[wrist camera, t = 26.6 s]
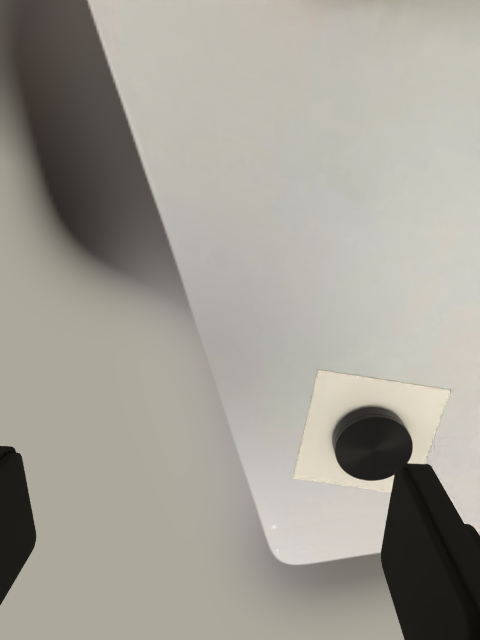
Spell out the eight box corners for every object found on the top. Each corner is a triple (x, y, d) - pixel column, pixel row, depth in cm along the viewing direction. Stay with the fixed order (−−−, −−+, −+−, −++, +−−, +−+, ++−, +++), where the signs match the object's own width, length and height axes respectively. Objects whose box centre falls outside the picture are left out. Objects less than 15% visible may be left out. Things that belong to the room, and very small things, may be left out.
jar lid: (421, 444, 40) (428, 456, 38) (360, 481, 42) (364, 493, 40) (379, 393, 38) (384, 402, 37) (317, 433, 40) (319, 444, 38)
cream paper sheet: (293, 477, 42) (294, 488, 41) (318, 369, 38) (320, 377, 37) (412, 495, 42) (418, 507, 41) (451, 390, 38) (458, 398, 37)
